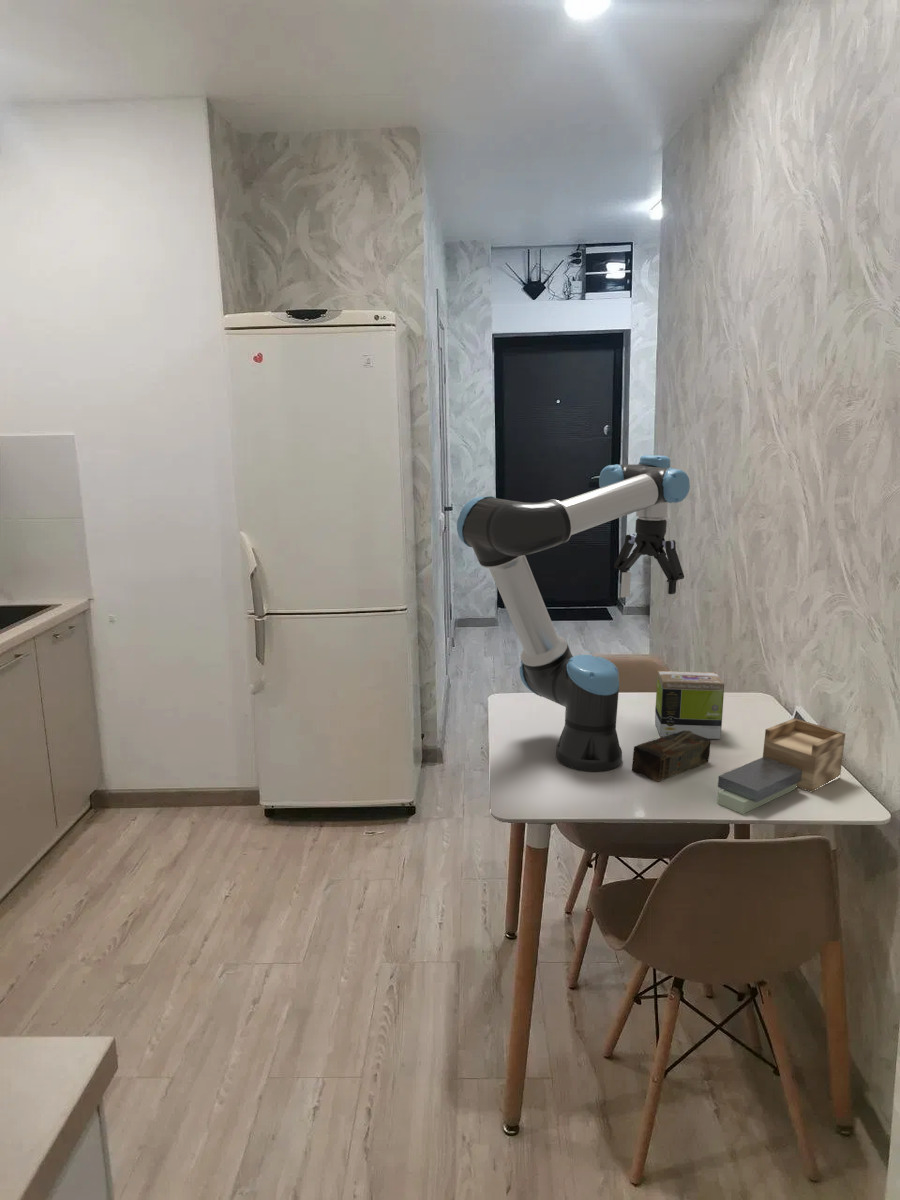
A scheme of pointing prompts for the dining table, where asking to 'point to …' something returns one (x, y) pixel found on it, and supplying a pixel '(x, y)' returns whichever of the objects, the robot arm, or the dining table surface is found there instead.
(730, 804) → the block
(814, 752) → the oak box
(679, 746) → the beverage carton
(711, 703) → the tea box
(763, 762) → the cover plate
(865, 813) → the dining table surface
